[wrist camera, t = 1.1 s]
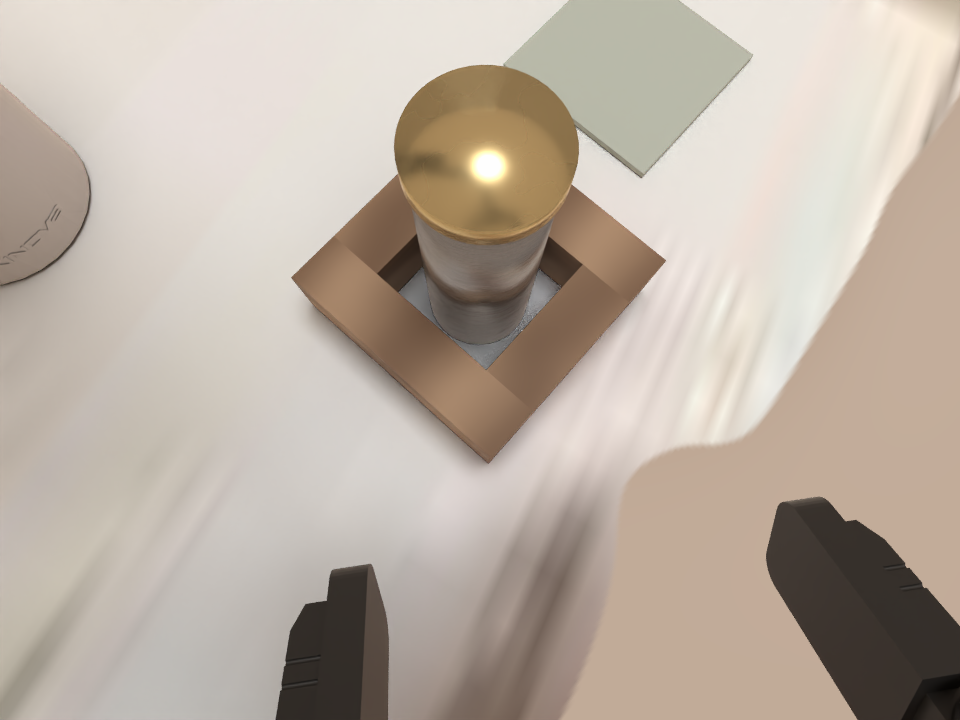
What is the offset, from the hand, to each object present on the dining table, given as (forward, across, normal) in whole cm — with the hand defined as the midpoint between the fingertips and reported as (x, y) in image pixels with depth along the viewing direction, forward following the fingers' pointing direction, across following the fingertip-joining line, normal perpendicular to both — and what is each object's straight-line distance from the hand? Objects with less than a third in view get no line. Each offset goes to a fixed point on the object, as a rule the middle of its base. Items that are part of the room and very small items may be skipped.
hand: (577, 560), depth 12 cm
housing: (+20, 0, +4) cm, 21 cm away
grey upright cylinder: (+20, 0, +4) cm, 21 cm away
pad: (+29, -10, -5) cm, 31 cm away
